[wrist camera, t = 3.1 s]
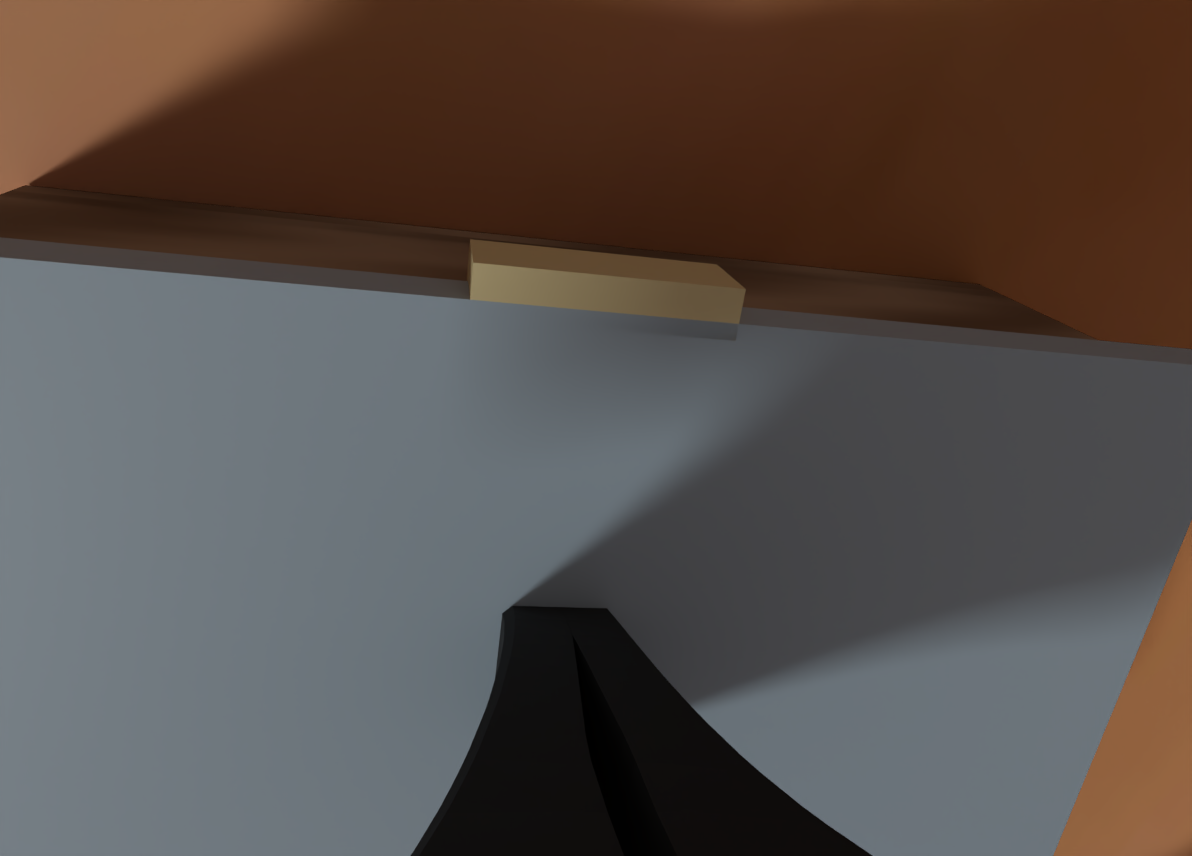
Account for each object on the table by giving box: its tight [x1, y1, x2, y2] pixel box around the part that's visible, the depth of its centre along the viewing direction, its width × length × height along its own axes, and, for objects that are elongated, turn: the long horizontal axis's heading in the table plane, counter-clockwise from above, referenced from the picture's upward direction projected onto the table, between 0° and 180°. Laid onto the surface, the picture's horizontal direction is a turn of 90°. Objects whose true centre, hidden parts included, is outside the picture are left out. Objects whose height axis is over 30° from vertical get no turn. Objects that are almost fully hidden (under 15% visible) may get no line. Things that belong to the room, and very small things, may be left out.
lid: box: [0, 237, 1192, 856], centre depth 13 cm, size 17×13×1 cm
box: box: [0, 185, 1096, 340], centre depth 16 cm, size 16×12×5 cm
